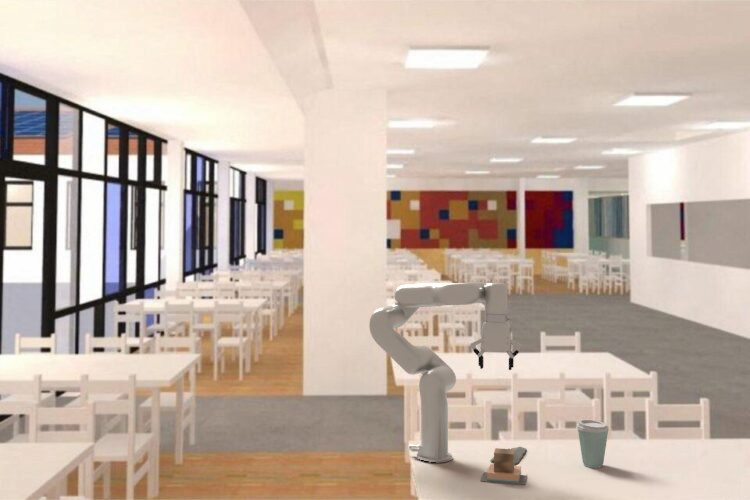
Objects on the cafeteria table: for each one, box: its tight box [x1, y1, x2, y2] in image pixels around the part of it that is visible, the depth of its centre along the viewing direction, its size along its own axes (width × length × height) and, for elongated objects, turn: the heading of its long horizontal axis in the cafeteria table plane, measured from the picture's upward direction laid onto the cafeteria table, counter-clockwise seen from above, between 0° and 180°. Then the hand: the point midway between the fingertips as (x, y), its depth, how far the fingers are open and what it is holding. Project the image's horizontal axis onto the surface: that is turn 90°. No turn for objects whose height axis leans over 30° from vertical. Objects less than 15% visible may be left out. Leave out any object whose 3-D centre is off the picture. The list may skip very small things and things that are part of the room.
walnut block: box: [493, 447, 515, 473], centre depth 237 cm, size 6×6×6 cm
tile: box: [486, 463, 522, 483], centre depth 237 cm, size 10×2×10 cm
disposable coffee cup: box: [576, 418, 609, 469], centre depth 251 cm, size 11×11×15 cm
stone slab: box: [489, 446, 527, 466], centre depth 263 cm, size 22×3×10 cm
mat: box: [480, 471, 528, 486], centre depth 236 cm, size 14×10×1 cm
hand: (495, 368), depth 250 cm, fingers open, 9 cm apart
